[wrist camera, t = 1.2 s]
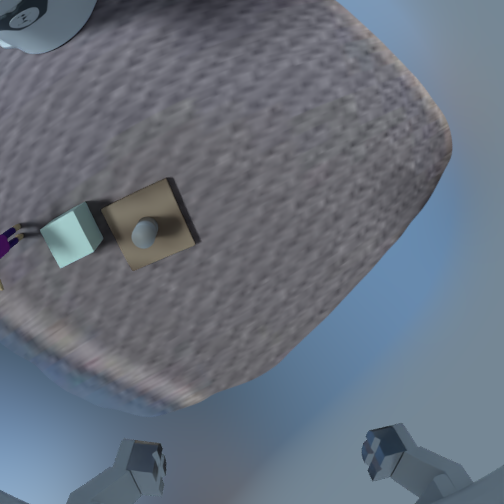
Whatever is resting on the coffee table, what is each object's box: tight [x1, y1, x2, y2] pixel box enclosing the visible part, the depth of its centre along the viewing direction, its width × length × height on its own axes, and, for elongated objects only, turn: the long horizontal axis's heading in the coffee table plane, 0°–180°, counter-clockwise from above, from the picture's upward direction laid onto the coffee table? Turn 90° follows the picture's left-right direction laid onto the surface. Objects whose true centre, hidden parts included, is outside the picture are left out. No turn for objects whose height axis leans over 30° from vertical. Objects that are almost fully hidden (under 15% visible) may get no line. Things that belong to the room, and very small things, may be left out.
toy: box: [0, 224, 24, 291], centre depth 31 cm, size 10×6×15 cm, turn 6°
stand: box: [101, 178, 195, 271], centre depth 39 cm, size 10×10×5 cm
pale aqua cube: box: [40, 202, 104, 268], centre depth 37 cm, size 6×6×5 cm
